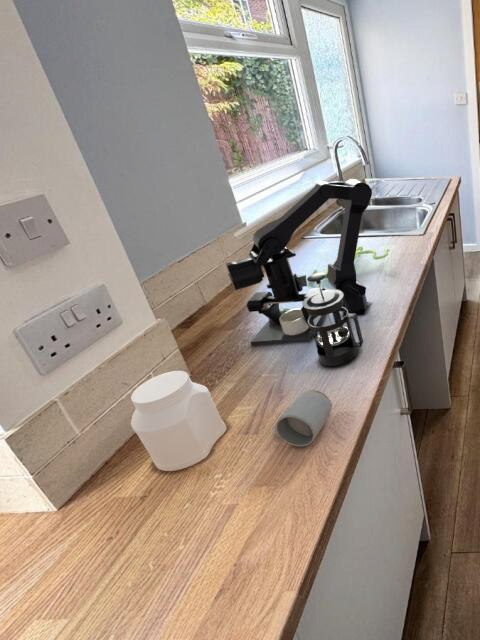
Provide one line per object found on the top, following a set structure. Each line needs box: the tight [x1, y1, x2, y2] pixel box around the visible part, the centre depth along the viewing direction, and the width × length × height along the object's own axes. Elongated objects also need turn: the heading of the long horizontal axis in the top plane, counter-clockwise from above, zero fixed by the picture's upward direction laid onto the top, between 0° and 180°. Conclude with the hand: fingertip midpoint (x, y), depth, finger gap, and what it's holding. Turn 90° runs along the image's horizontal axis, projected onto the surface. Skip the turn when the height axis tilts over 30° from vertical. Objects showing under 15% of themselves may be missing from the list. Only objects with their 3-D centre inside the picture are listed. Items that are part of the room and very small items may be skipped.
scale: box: [250, 308, 327, 347], centre depth 113 cm, size 15×14×3 cm
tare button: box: [279, 306, 286, 315], centre depth 115 cm, size 3×3×2 cm
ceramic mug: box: [272, 389, 333, 447], centre depth 79 cm, size 11×8×8 cm
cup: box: [279, 307, 309, 335], centre depth 110 cm, size 7×7×4 cm
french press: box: [302, 272, 364, 370], centre depth 97 cm, size 12×9×23 cm
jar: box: [130, 370, 227, 472], centre depth 76 cm, size 12×10×15 cm
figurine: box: [311, 246, 391, 280], centre depth 144 cm, size 18×27×6 cm
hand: (296, 325), depth 111 cm, fingers closed on cup, 7 cm apart
